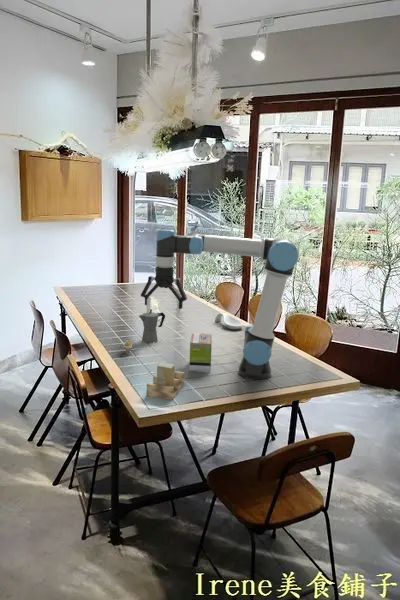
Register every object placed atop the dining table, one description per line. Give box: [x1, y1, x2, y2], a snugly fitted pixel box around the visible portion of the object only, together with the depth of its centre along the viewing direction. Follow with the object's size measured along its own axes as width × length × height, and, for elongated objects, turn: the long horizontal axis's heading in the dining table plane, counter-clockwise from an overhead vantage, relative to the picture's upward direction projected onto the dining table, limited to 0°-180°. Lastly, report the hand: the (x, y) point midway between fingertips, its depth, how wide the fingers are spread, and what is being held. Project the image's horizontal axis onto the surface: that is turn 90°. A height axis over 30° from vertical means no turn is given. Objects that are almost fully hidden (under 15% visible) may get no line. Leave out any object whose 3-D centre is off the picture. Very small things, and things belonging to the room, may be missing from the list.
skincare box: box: [156, 362, 176, 387], centre depth 190 cm, size 6×4×12 cm
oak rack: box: [146, 370, 186, 401], centre depth 194 cm, size 11×17×6 cm, turn 167°
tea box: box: [188, 333, 213, 374], centre depth 223 cm, size 15×10×15 cm, turn 178°
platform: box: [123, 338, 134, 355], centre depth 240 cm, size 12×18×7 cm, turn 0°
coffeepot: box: [138, 308, 166, 344], centre depth 259 cm, size 15×9×18 cm, turn 118°
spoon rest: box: [214, 312, 244, 330], centre depth 298 cm, size 24×12×7 cm, turn 33°
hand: (163, 314), depth 205 cm, fingers open, 13 cm apart
